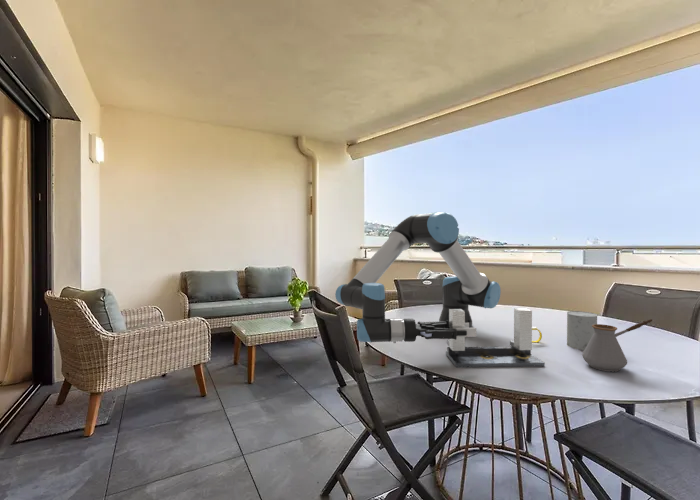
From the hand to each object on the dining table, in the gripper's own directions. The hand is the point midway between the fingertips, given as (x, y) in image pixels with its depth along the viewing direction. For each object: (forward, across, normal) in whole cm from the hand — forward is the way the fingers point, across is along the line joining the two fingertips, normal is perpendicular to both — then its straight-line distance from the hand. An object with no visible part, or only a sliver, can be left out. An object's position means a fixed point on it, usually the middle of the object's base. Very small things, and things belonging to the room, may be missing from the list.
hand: (472, 329), depth 116 cm
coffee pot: (+44, +7, -11) cm, 46 cm away
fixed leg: (+17, -2, -9) cm, 19 cm away
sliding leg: (-5, -2, -9) cm, 10 cm away
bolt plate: (+7, 0, -10) cm, 13 cm away
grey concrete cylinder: (+46, -14, -11) cm, 49 cm away
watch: (+31, -20, -11) cm, 38 cm away
